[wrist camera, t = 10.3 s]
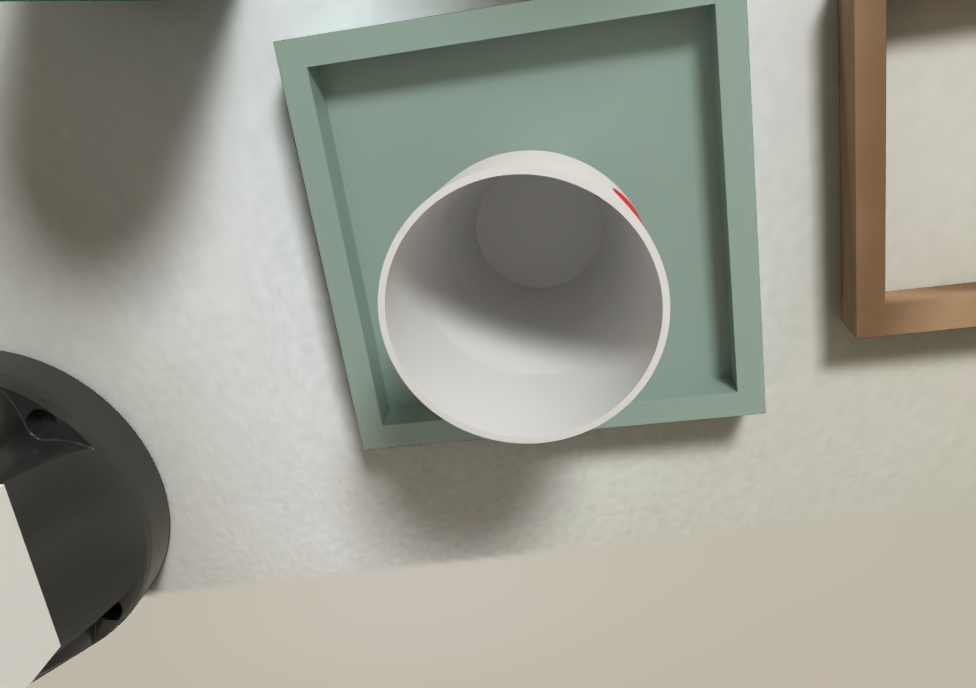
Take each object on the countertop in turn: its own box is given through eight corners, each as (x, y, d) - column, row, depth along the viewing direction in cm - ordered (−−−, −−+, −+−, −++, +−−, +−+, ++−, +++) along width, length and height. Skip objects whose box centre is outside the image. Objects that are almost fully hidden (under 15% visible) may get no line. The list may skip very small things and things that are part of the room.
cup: (633, 333, 35) (652, 455, 26) (430, 318, 36) (377, 432, 26) (657, 123, 32) (687, 176, 23) (434, 111, 33) (376, 157, 24)
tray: (376, 423, 39) (363, 450, 36) (294, 38, 33) (273, 41, 31) (753, 386, 37) (765, 413, 34) (732, -32, 31) (745, -35, 29)
